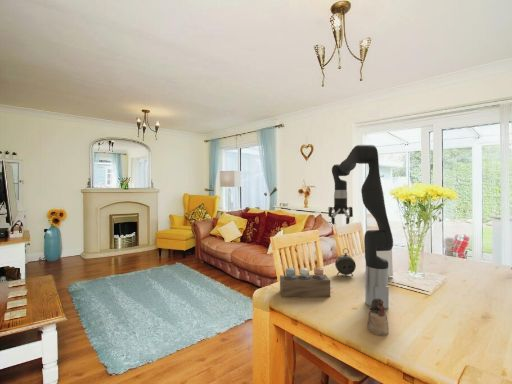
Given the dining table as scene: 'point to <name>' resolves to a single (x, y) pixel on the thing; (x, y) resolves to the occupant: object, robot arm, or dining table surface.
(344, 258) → the alarm clock
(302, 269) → the cream button
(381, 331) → the figurine
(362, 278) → the dining table surface
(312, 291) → the button console
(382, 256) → the milk
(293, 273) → the slate button
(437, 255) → the dining table surface
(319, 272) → the terracotta button
